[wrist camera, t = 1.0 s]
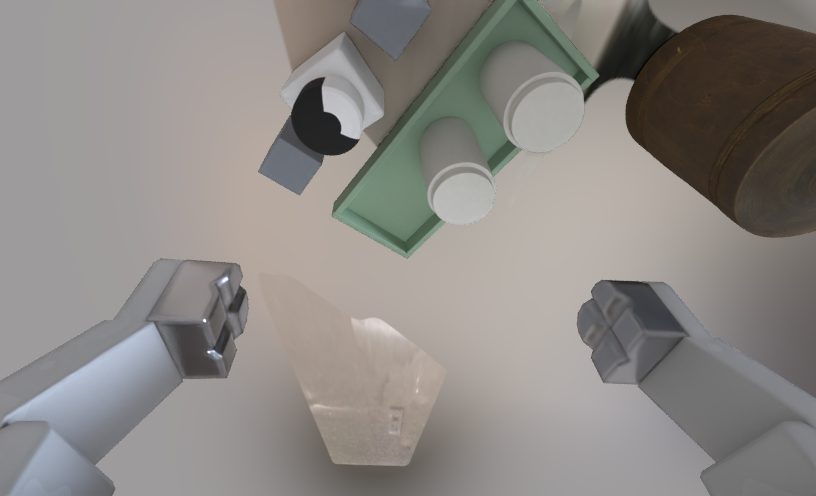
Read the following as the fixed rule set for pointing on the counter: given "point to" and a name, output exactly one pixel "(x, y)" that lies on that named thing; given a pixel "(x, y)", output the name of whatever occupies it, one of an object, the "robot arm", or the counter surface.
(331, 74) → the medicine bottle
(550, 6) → the counter surface
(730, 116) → the wooden container
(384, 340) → the counter surface
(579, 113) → the white bottle
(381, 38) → the grey box
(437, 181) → the white bottle
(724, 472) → the robot arm
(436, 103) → the tray
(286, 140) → the grey box
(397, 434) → the counter surface
